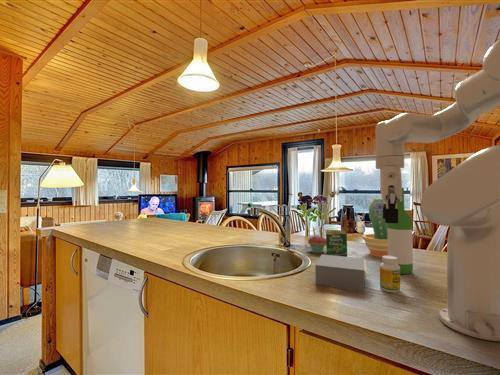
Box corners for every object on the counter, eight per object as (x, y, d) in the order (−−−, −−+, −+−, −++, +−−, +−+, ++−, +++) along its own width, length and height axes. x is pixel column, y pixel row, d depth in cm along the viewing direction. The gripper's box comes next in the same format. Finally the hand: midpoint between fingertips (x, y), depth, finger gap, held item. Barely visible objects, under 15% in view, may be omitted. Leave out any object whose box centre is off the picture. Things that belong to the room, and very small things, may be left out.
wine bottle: (413, 276, 89) (411, 187, 89) (387, 272, 93) (386, 187, 93) (413, 270, 96) (411, 187, 96) (388, 267, 100) (387, 187, 100)
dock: (365, 291, 77) (365, 270, 77) (315, 284, 83) (315, 264, 83) (365, 276, 90) (365, 258, 90) (321, 271, 96) (321, 254, 96)
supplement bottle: (386, 284, 82) (385, 253, 82) (404, 290, 77) (403, 257, 77) (376, 288, 79) (376, 256, 79) (394, 294, 75) (394, 260, 74)
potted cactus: (354, 253, 121) (354, 198, 121) (374, 248, 129) (374, 197, 129) (388, 261, 108) (387, 199, 108) (407, 255, 117) (407, 198, 117)
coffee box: (325, 262, 107) (325, 229, 107) (326, 260, 109) (326, 228, 109) (346, 265, 103) (346, 231, 103) (347, 263, 106) (347, 230, 106)
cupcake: (307, 253, 122) (307, 227, 122) (308, 248, 130) (308, 224, 130) (326, 254, 119) (326, 227, 119) (327, 250, 127) (326, 225, 127)
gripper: (408, 159, 69) (409, 225, 69) (400, 165, 85) (400, 218, 85) (376, 161, 72) (377, 224, 72) (374, 166, 88) (375, 217, 88)
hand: (390, 221), depth 78 cm, fingers open, 9 cm apart
